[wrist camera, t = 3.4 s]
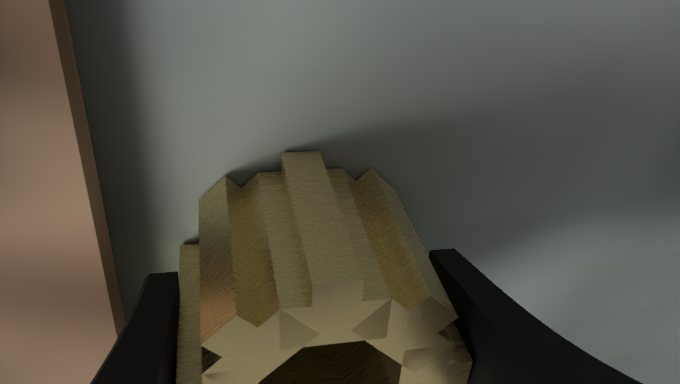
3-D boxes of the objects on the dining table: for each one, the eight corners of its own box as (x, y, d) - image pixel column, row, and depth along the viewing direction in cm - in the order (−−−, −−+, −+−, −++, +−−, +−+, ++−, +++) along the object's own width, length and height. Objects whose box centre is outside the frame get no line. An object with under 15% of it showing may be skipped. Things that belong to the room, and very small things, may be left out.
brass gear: (394, 320, 18) (447, 459, 14) (190, 341, 17) (190, 500, 13) (420, 146, 15) (496, 267, 11) (170, 158, 13) (161, 298, 10)
